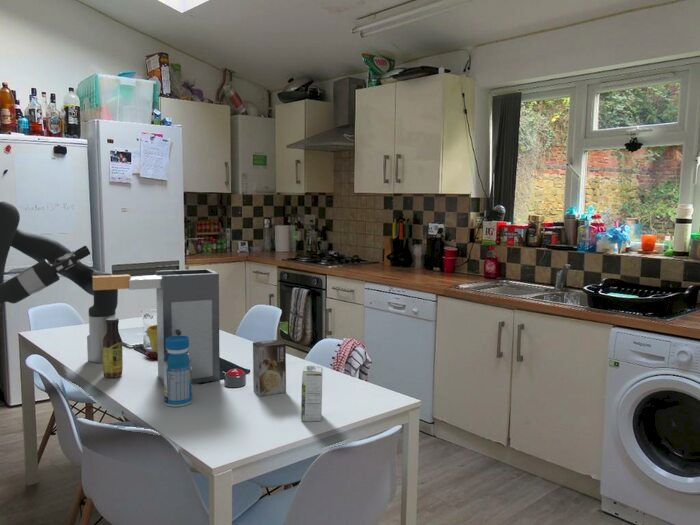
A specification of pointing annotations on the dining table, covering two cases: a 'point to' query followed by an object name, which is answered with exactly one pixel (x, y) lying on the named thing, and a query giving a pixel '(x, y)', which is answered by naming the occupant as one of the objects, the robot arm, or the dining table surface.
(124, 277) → the wooden handled hammer
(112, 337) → the sauce bottle
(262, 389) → the coffee box
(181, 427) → the dining table surface
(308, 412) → the drink carton
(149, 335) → the plant pot
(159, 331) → the small grey cabinet
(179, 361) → the beverage bottle
